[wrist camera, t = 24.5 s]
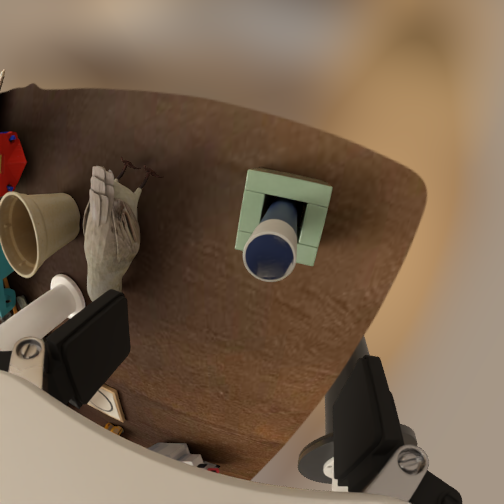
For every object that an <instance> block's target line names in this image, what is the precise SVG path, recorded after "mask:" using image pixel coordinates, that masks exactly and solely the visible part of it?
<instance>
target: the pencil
mask: <svg viewBox="0 0 504 504" xmlns="http://www.w3.org/2000/svg"><path fill="white" fill-rule="evenodd" d="M3 281H4V284H5V288H10V287H9V283H8V280H7V276H6V277H5V278H4V279H3ZM10 302H11V301H10ZM13 311H14V314H16V313H17V312H18V311H17V308H16V305H15V306H14V308H13Z"/></svg>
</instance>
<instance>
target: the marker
mask: <svg viewBox="0 0 504 504" xmlns="http://www.w3.org/2000/svg"><path fill="white" fill-rule="evenodd" d="M297 212H298V207H297V203H296V201H295V200H292V199H287V198H283V197H277V198H275V199H274V201H273V202H272V204H271V205H270V207H269V209H268V210H267V212H266V214H265V215H264V217H263V219H262V220H261V222H260V224H259V225H258V226H257V227H256V228H255V230H254V231H253V233H252V235H251V236H250V238H249V239H248V241H247V243H246V244H245V247H244V250H243V261H244V264H245V267H246V268H247V270H248V271H249V272H250V273H251V274H252V275H253V276H254V277H255V278H257V279H259V280H262V281H266V282H275V281H279V280H282V279H284V278H285V277H287V276H288V275H289V274H290V273H291V272H292V271H293V269H294V267H295V264H296V259H297Z"/></svg>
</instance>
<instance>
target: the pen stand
mask: <svg viewBox="0 0 504 504" xmlns="http://www.w3.org/2000/svg"><path fill="white" fill-rule="evenodd" d="M332 189H333V188H332V187H331V186H330V185H329V184H328V183H327V182H326V181H322V180H318V179H314V178H309V177H305V176H300V175H295V174H291V173H286V172H281V171H276V170H271V169H266V168H260V167H258V168H253V169H249V170H248V172H247V178H246V184H245V191H244V195H243V201H242V207H241V213H240V219H239V225H238V232H237V238H236V244H235V249H237V250H242V251H243V250H244V247H245V244H246V243H247V241H248V239H249V238H250V236H251V235H252V233H253V231H254V230H255V228H256V227H257V226H258V225H259V224H260V222H261V220H262V219H263V217H264V215H265V214H266V212H267V210H268V205H269V200H270V195H273V196H278V197H283V198H287V199H292V200H296V201H301V202H304V205H303V210H302V214H301V219H300V223H299V227H297V259H296V263H300V264H305V265H309V266H313V265H314V262H315V258H316V255H317V251H318V247H319V243H320V239H321V235H322V231H323V227H324V223H325V219H326V215H327V211H328V208H327V207H329V202H330V198H331V193H332Z"/></svg>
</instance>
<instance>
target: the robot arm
mask: <svg viewBox="0 0 504 504" xmlns="http://www.w3.org/2000/svg"><path fill="white" fill-rule="evenodd" d="M46 340H47V342H46V343H45V344H44V343H43V341H42V340H41V339H39V338H37V337H32V336H29V337H24V338H21V339H20V340H18V341H17V342H16V343H15V344H14V347H13V350H12V351H0V504H462V498H461V495H460V494H459V492H458V491H457V490H455V489H454V488H452V487H451V486H449V485H448V484H446V483H445V482H443V481H442V480H441V479H439V478H438V477H436V476H435V475H433V474H432V473H430V472H429V471H428V470H427V469H428V466H429V459H428V456H427V454H426V453H425V452H424V450H422V449H421V448H420V447H418V446H416V445H410V444H409V445H404V440H403V436H402V431H401V427H400V423H399V419H398V415H397V411H396V407H395V403H394V399H393V396H392V394H391V392H390V391H389V388H388V384H387V380H386V377H385V374H384V370H383V367H382V363H381V360H380V358H379V357H375V356H369V355H365V356H364V357H363V358H359V359H358V361H357V363H356V365H355V367H354V369H353V370H352V372H351V374H350V376H349V378H348V380H347V382H346V383H345V385H344V387H343V389H342V391H341V392H340V394H339V396H338V398H337V399H336V401H335V403H334V405H333V439H334V457H332V458H331V459H329V460H328V461H327V462H326V463H325V465H324V469H323V471H324V474H325V475H326V476H328V477H329V478H332V491H320V490H309V489H299V488H291V487H283V486H276V485H269V484H264V483H258V482H253V481H248V480H244V479H239V478H235V477H231V476H227V475H223V474H219V473H215V472H212V471H208V470H205V469H201V468H198V467H195V466H192V465H189V464H186V463H183V462H180V461H177V460H174V459H172V458H169V457H166V456H164V455H161V454H159V453H156V452H154V451H151V450H149V449H147V448H144V447H142V446H140V445H138V444H135V443H133V442H131V441H129V440H127V439H125V438H123V437H121V436H119V435H117V434H115V433H113V432H111V431H109V430H107V429H105V428H103V427H101V426H100V425H98V424H96V423H94V422H92V421H91V420H89V419H87V418H86V417H84V416H82V415H81V414H79V413H77V412H76V411H74V410H72V409H71V408H69V407H68V406H66V404H67V403H68V402H69V403H71V404H72V405H74V406H75V407H77V408H79V409H80V407H81V406H82V405H83V404H87V403H88V402H89V401H90V400H91V399H92V397H93V396H94V395H95V394H96V392H97V391H98V390H99V389H100V388H101V386H102V385H103V384H104V383H105V382H106V381H107V379H108V378H109V377H110V376H111V375H112V373H113V372H114V371H115V370H116V369H117V368H118V366H119V365H120V364H121V363H122V362H123V360H124V359H125V358H126V357H127V356H128V354H129V352H130V336H129V324H128V307H127V299H126V298H125V296H124V294H123V293H122V292H119V291H116V290H113V289H109V290H108V291H106V292H105V293H104V294H102V295H101V296H100V297H98V298H97V299H96V300H94V301H93V302H92V303H90V304H89V305H88V306H86V307H85V308H84V309H82V310H81V311H80V312H78V313H77V314H76V315H74V316H73V317H72V318H71V319H69V320H68V321H67V322H65V323H64V324H63V325H62V326H60V327H59V328H58V329H56V330H55V331H54V332H53V333H51V334H50V335H49V336H48V337H46Z"/></svg>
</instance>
